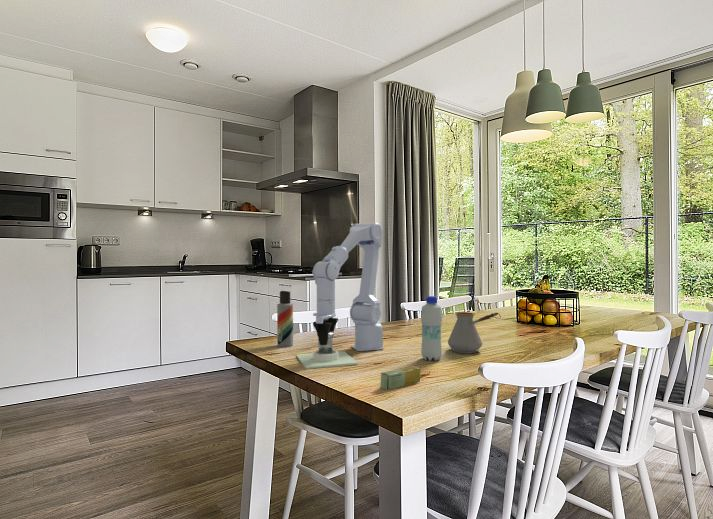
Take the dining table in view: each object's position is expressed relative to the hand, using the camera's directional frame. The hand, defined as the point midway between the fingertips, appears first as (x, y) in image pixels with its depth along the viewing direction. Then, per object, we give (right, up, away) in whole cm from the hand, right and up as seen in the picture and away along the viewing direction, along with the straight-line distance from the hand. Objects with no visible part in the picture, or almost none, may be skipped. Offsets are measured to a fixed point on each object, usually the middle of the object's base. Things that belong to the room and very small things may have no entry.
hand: (326, 343), depth 137 cm
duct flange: (0, -6, 0) cm, 6 cm away
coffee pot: (+49, -5, +8) cm, 50 cm away
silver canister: (0, -3, +1) cm, 3 cm away
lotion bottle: (-16, -5, +22) cm, 28 cm away
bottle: (+33, -6, +1) cm, 34 cm away
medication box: (+21, -6, -25) cm, 33 cm away
